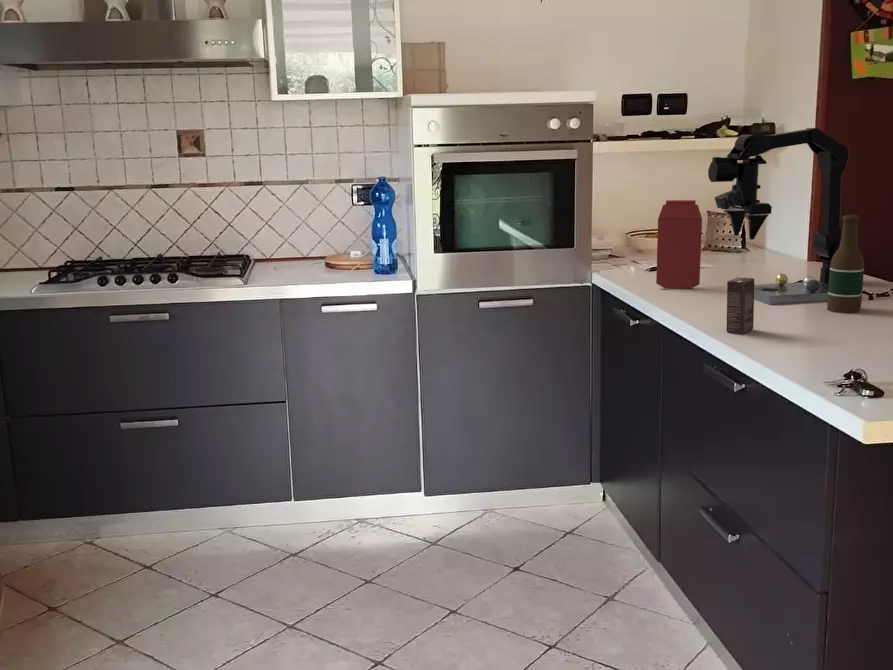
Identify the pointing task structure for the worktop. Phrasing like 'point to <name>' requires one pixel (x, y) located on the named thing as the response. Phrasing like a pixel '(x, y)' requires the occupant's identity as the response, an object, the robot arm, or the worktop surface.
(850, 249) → the beer bottle
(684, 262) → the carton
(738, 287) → the box
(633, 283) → the worktop surface
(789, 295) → the plate
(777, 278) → the brass ball
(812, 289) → the black ball
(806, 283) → the steel ball
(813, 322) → the worktop surface
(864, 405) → the worktop surface
